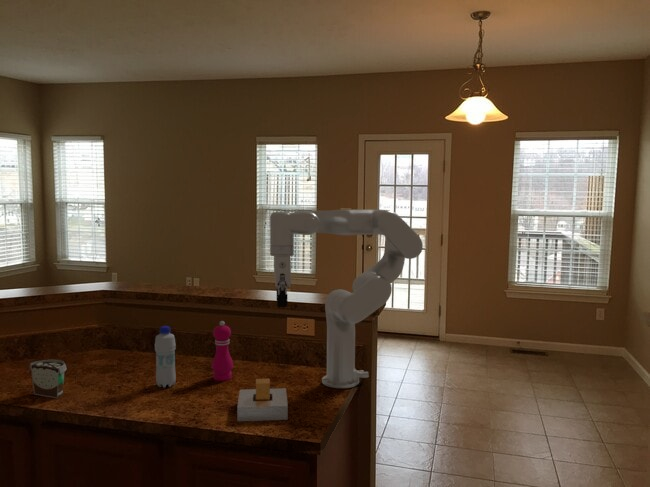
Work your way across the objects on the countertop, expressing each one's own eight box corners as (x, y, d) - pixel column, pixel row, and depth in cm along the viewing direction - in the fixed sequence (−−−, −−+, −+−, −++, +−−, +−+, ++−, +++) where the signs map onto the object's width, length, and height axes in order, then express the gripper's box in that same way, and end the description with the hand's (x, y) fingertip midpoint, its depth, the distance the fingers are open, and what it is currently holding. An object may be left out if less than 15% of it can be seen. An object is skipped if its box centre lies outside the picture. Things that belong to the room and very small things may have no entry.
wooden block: (269, 408, 161) (269, 378, 160) (269, 413, 157) (269, 383, 157) (256, 408, 161) (256, 378, 160) (255, 413, 157) (255, 383, 156)
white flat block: (285, 400, 167) (285, 388, 167) (287, 419, 153) (287, 405, 153) (239, 402, 165) (239, 389, 165) (237, 421, 152) (237, 407, 151)
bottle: (157, 382, 183) (156, 323, 181) (178, 381, 183) (177, 323, 181) (153, 389, 176) (152, 328, 174) (174, 388, 176) (173, 328, 175)
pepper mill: (228, 382, 183) (228, 323, 181) (208, 380, 185) (207, 322, 183) (236, 375, 190) (235, 319, 188) (216, 373, 192) (216, 318, 190)
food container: (76, 392, 173) (75, 361, 172) (61, 398, 167) (60, 367, 166) (46, 387, 177) (45, 357, 176) (30, 393, 171) (29, 362, 170)
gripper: (295, 253, 165) (294, 309, 166) (292, 248, 182) (292, 298, 183) (270, 253, 164) (270, 309, 165) (269, 248, 181) (269, 298, 182)
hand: (281, 303), depth 174 cm, fingers open, 9 cm apart
